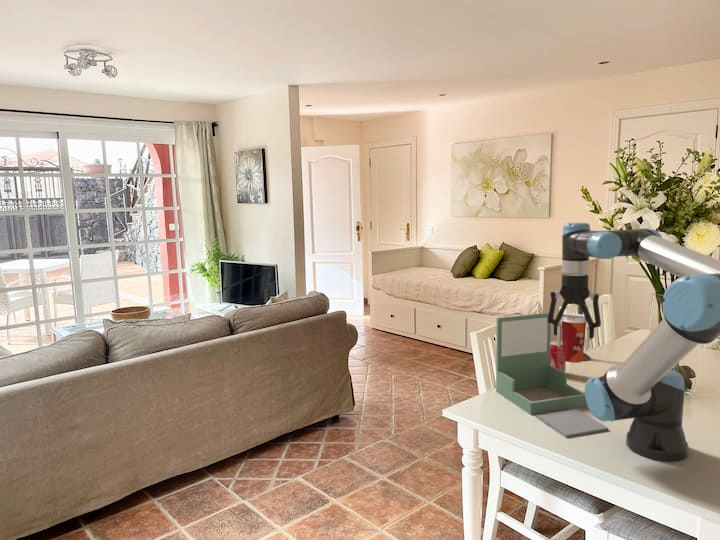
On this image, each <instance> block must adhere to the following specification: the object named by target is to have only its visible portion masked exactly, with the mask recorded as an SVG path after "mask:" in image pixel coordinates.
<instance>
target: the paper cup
mask: <svg viewBox="0 0 720 540" xmlns="http://www.w3.org/2000/svg"><path fill="white" fill-rule="evenodd" d="M560 321H561V341H562V346H563V360H564V361H566V363H571V364H572V363H573V364H579V363H582V362H584V361H583V353H585V342H586V341H585V340H586V332H587V320H586V318H585V315H584V314H583V315H581V314H578V313H563V315H562V317H561V319H560Z"/></svg>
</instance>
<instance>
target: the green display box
mask: <svg viewBox="0 0 720 540" xmlns="http://www.w3.org/2000/svg"><path fill="white" fill-rule="evenodd" d="M548 316H549V312H541V313H531V314H521V315H511V316H501V317H496V337H495V338H496V339H495V340H496V342H495V343H496V345H495V346H496V351H495V352H496V355H495V356H496V357H495V358H496V361H495V362H496V363H495V366H496V367H495V369H496V370H495V371H496V372H495V373H496V375H495V378H496V379H495V389H496V390H495V392H496V393H497V394H499V395H501V396H502V397H503V396H504V398H505V399H507V400H508V401H509V402H511V403H512V404H514V405H515V406H517V407H518V408H520V409H521V410H523V411H524V412H526V413H527V414H529V415H532V416H533V415H540V414H546V413H553V412H559V411H566V410H572V409H576V408H583V407H584V408H585V407H588V405H587V402H586V398H585V392H583V391H581V390H579V389H578V388H575V387H573V386H572V385H570V384H567V382H568V379H567V378H568V373H567V372H566V371H565V372H563V371H561V370H559V369H557V368H555V367H553V366H551V365H550V341H551V329H552V323H548ZM539 387H541V388H542V387H549V388H550V389H552V388H553V390H554V391H556V392H558V393H560V394H561V393H562V394H561V395H564V396H562V397H553V398H547V399H541V400H534V401H532V400H530V399H528V398H526V397H525V396H524V395H522V394H521V393H519V392H517V390H525V389H526V390H527V389H533V388H539Z"/></svg>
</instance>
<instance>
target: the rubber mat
mask: <svg viewBox="0 0 720 540" xmlns="http://www.w3.org/2000/svg"><path fill="white" fill-rule="evenodd" d="M535 418H536V419H538V420H539V421H540V422H542V423H544V424H545V425H546V426H548V427H549V428H551V429H552V430H554V431H555V432H557V433H559V434H560V435H562V437H565V438H571V437H578V436H583V435H589V434H595V433H601V432H606V431H609V427H608V426H606V425H604V424H603V423H601V422H600V421H597V420H595V419H594V418H592V417H591V416H588V415H587V414H585V413H583V412H582V411H580V410H578V409H576V408H572V409H566V410H559V411H553V412H547V413H540V414H535Z"/></svg>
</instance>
